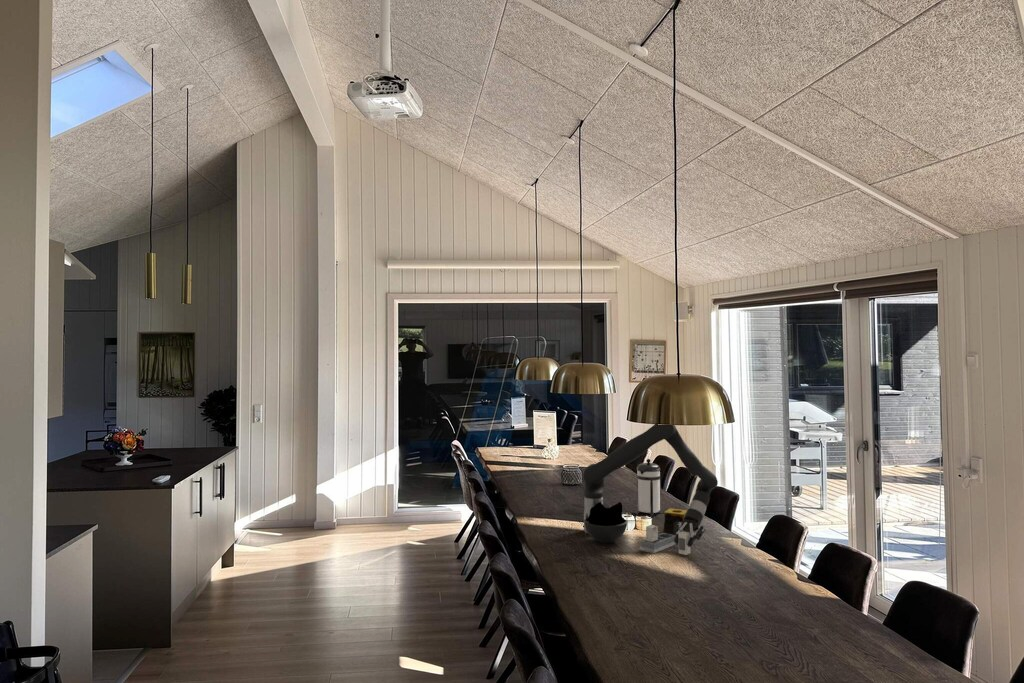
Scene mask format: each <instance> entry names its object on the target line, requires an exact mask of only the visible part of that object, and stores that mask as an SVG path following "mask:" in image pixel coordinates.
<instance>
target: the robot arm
mask: <svg viewBox="0 0 1024 683" xmlns="http://www.w3.org/2000/svg"><path fill="white" fill-rule="evenodd" d="M663 440H665V442H667V444H669V445H670V447H671V448H672V449H673V450H674V451H675V453H676V454H677V456H678V458H679V459H680V461H681V462H682V464H683V465H684V467H685V468H686V469H687V471H688V473H689V474H691V475H692V476H693V477H695V476H696V477H698V478H699V481H698V483H697V485H696V489H695V491H694V492H695V494H694V495H693V498H692V499H691V502H690V503H689V505H688V508H687V509H686V510H687V512H686V514H685V517H684V520H683V521H682V522H678V521H676V522H675V526H674V530H673V532H674V533H673V535H676V536H675V539H674V542H675V544H676V545H679V533H680V532H683V530H684V532H689V533H690V539H689V541H688V543H687V545H688V547H691V548H692V546H693V544H694V542H695V541H696V540H697V541H700V539H701V537H702V536H703V534H704V532H705V530H706V529H705V527H704V526H703V525H701V524H702V521H703V519H704V516H705V514H706V511H707V507H708V505H709V503H710V499H711V498H710V495H711V493H712V491H713V490H714V489H715V488H717V486H718V478H717V476H716V475H715V474H714V473H713V472H712V471H711V470H709V468H707V467H706V466H705V465H704V464H703V463H702V462H701V460H700V459H699V458H698V457H697V455H696V454H695V453H694V452H693V451H692V449H691V448H690V446H688V445H687V443H686V442H685V440H683V437H682V436H681V434H680V433H679V431H678V428H677V427H676V424H675V425H658V424H656V423H654V424H653V425H652V426H651V427H649V428H648V429H646V430H645V431H644V432H643V433H640V434H639V435H637V436H635V437H633V438H631V439H629V440H628V441H626V442H625V443H623V444H621V445H620V446H618V447H617V448H615V449H614V450H613V451H612V452H611V453H609V455H608V456H606V457H605V458H603V459H602V460H601V461H598V462H596V463H592V464H591V463H590V464H588V466H586V467H585V469H584V471H583V472H582V473H583V474H582V476H583V481H584V492H583V493H584V499H583V501H584V503H583V504H584V511H583V521H584V520H585V519H586V518H588V517H589V515H590V509H591V508H592V507H594V506H595V504H597V503H599V502H601V503H602V504H603V505H604V490H605V487H604V486H605V485H604V483H605V480H604V479H605V478H606V477H607V476H609V474H612V473H614V472H615V471H617V470H619V469H621V468H623V467H625V466H627V465H629V464H631V463H632V462H634V461H635V460H637V459H638V458H640V457H641V456H642V455H643V454H645V453H646V452H647V450H649V449H650V448H651V447H652V446H653V445H655V444H658V443H659V442H661V441H663ZM681 525H682V526H681ZM680 526H681V527H680ZM679 527H680V529H679ZM583 531H584V533H585V534H589V533H588V532H587V530H586V528H585V524H584V523H583ZM696 531H697V532H696Z"/></svg>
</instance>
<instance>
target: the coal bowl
mask: <svg viewBox="0 0 1024 683" xmlns="http://www.w3.org/2000/svg"><path fill="white" fill-rule="evenodd" d="M584 524H585V528H586V530H587V532H588V533H587V534H588V535H589V536H590V538H593V540H595V541H596V542H599V543H603V544H604V543H605V544H609V543H613V542H615V541H618V540H619V539H620V538H622V536H623V535H624V534H625V532H626V529H627V526H628V521H627V519H625V518H623V504H622V502H621V501H619V502H617V503H615V504H613V505H612V506H610V507H606V506H604V503H603V504H602V503H601V502H599V503H597V504H595V506H594V507H592V508H591V509H590V515H589V517H588V518H586V519H585V520H584V519H583V525H584Z"/></svg>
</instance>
